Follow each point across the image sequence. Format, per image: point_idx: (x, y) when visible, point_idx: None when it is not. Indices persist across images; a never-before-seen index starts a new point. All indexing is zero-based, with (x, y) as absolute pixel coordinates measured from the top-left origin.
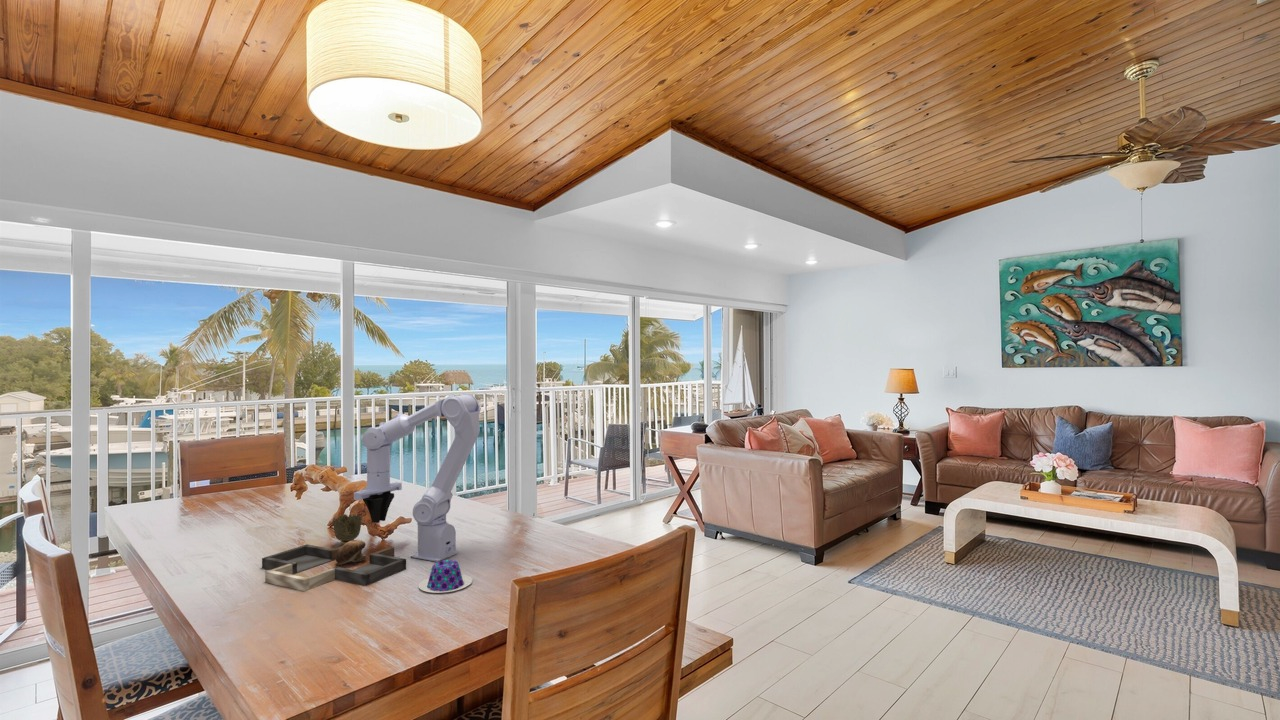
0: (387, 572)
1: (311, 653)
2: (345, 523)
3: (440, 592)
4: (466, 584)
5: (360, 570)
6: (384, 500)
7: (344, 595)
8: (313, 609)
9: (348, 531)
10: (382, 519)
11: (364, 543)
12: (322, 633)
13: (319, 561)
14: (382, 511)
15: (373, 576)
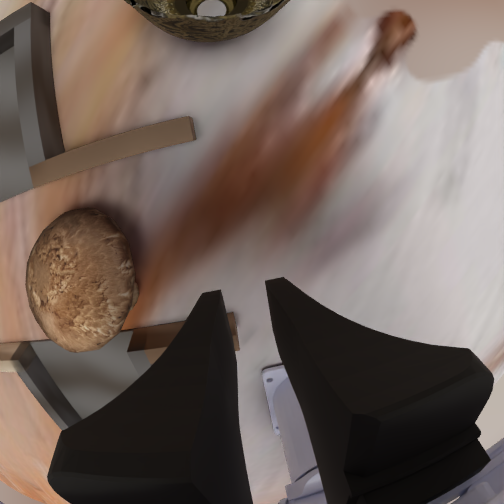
0: None
1: (16, 472)
2: (139, 11)
3: None
4: None
5: (90, 359)
6: (324, 471)
7: (42, 424)
8: (2, 421)
9: (171, 32)
10: (273, 330)
11: (113, 337)
12: (20, 462)
13: (19, 161)
14: (291, 369)
15: None
